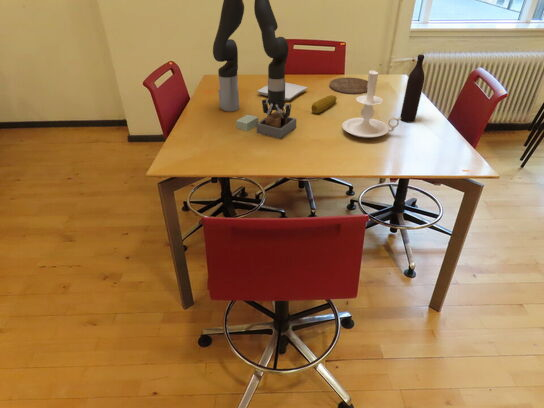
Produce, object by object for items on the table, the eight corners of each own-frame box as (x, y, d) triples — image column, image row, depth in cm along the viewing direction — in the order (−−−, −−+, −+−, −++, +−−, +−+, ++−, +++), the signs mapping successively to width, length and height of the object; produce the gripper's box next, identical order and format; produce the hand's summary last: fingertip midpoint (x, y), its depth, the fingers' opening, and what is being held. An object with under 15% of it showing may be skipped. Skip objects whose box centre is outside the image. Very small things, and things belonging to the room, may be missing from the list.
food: (319, 116, 188) (319, 104, 185) (309, 113, 191) (309, 102, 187) (338, 103, 202) (339, 92, 199) (329, 101, 205) (330, 90, 201)
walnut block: (265, 128, 172) (265, 117, 169) (275, 120, 178) (275, 110, 175) (276, 130, 169) (276, 120, 167) (286, 123, 176) (287, 113, 173)
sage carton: (236, 128, 177) (236, 120, 175) (248, 122, 183) (247, 114, 181) (247, 131, 175) (246, 123, 172) (258, 124, 181) (258, 117, 178)
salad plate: (308, 92, 216) (308, 86, 214) (289, 104, 202) (289, 97, 200) (276, 85, 226) (276, 80, 224) (256, 96, 211) (256, 90, 209)
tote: (256, 132, 173) (256, 123, 170) (272, 121, 183) (272, 113, 180) (281, 139, 167) (281, 129, 165) (296, 127, 177) (296, 118, 175)
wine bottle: (416, 118, 185) (430, 54, 168) (413, 123, 180) (428, 58, 162) (401, 115, 188) (414, 52, 170) (398, 121, 182) (411, 56, 165)
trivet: (376, 95, 212) (376, 91, 211) (331, 95, 213) (332, 91, 212) (367, 80, 233) (368, 77, 232) (327, 80, 233) (327, 77, 232)
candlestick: (398, 146, 162) (412, 80, 145) (340, 141, 166) (347, 76, 149) (396, 126, 178) (408, 65, 161) (342, 122, 182) (349, 62, 166)
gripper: (257, 87, 164) (258, 123, 174) (286, 93, 158) (286, 130, 168) (266, 82, 169) (267, 117, 179) (295, 87, 163) (294, 124, 173)
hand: (276, 123), depth 173 cm, fingers closed on walnut block, 6 cm apart
